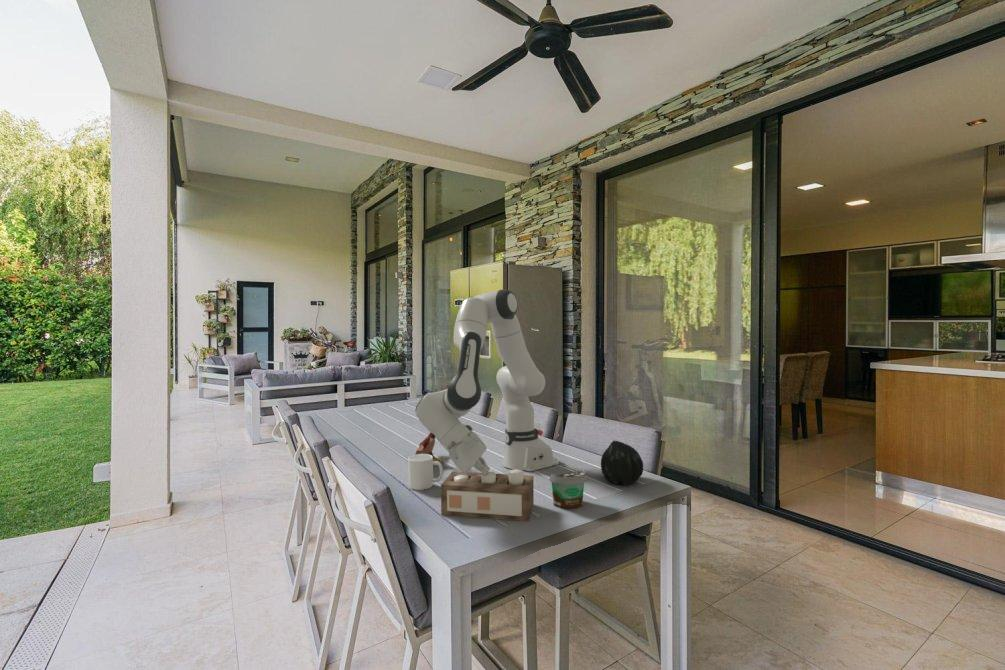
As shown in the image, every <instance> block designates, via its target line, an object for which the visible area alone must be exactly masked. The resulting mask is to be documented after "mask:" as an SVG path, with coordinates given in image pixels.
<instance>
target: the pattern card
mask: <svg viewBox="0 0 1005 670" xmlns="http://www.w3.org/2000/svg"><path fill="white" fill-rule="evenodd" d="M447 511H455V512H469V513H483V514H498V515H512V516H522V495H517V494H501V493H486V492H470V491H454V490H447Z"/></svg>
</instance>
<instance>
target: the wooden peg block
mask: <svg viewBox="0 0 1005 670" xmlns="http://www.w3.org/2000/svg"><path fill="white" fill-rule="evenodd" d="M481 473H482V472H472V471H468V472H467V473H466V474H464V473H462V472H461V471H456V470H455V471H454V470H453V471H452V472H450V474H449V475H448V476H446V478H445V479H444V480H443V482H442V483H441V484H440V508H441V509H440V510H441V512H440V513H441V516H453V517H455V516H456V517H468V518H482V519H495V520H497V519H498V520H508V521H510V520H511V521H522V522H530V518H531V514H532V511H533V507H534V491H535V489H534V486H535V485H534V475H528V474H527V475H526V474H523V475H524V485H510V484H509V473H508V474H506V473H495V474H496V483H495V484H493V483H481ZM458 475H466V476H468V482H459V481H454V477H455V476H458ZM447 490H454V491H470V492H486V493H501V494H517V495H522V516H512V515H498V514H483V513H469V512H455V511H447Z"/></svg>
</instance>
